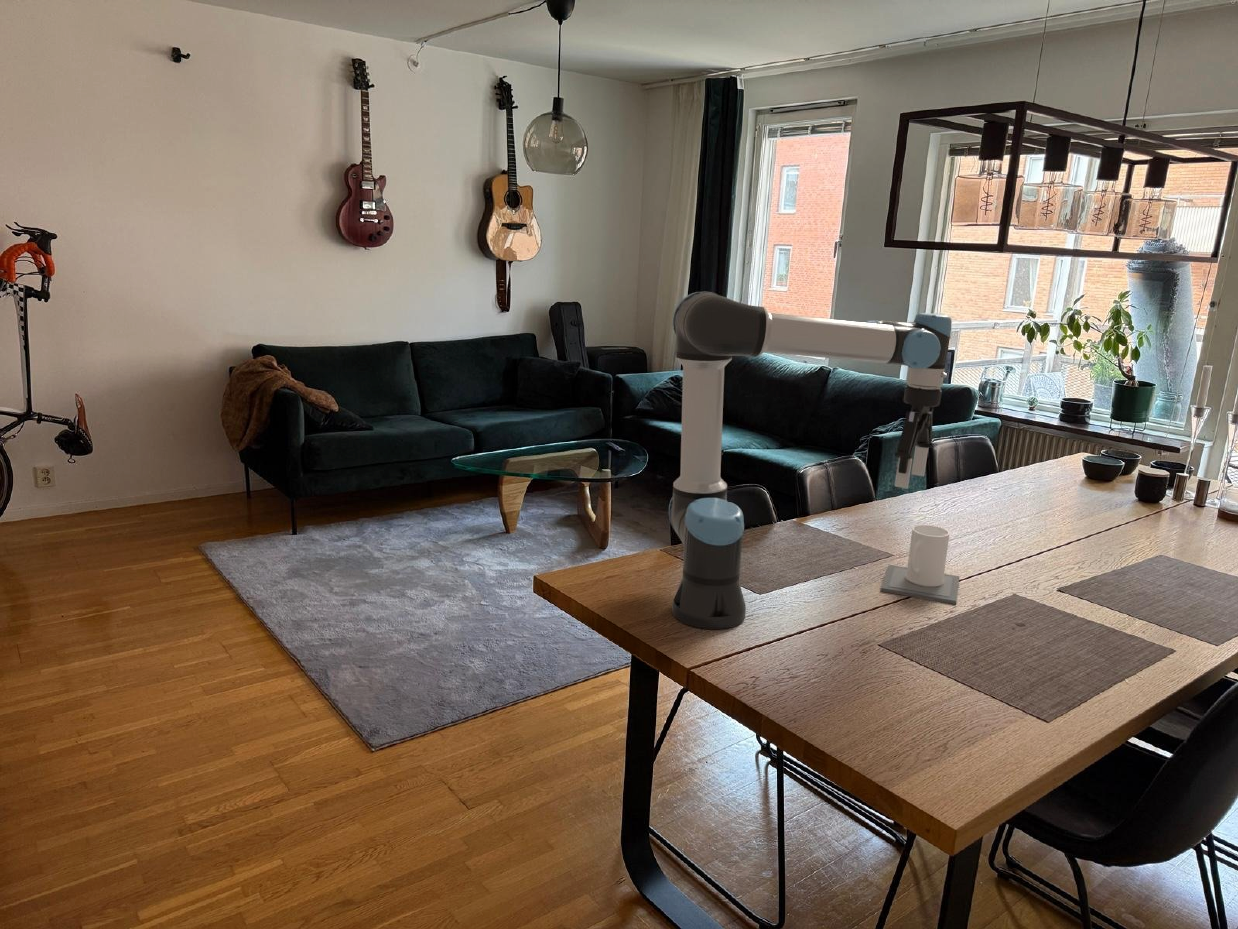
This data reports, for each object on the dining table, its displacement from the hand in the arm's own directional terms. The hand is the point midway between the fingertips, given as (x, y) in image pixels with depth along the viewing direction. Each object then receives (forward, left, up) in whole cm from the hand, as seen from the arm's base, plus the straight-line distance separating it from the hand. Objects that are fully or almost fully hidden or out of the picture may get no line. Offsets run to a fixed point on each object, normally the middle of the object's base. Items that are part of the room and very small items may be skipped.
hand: (909, 481), depth 196 cm
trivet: (+4, -4, -25) cm, 26 cm away
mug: (+4, -4, -24) cm, 25 cm away
